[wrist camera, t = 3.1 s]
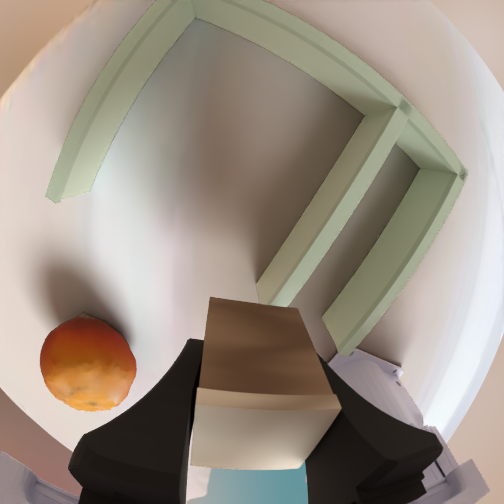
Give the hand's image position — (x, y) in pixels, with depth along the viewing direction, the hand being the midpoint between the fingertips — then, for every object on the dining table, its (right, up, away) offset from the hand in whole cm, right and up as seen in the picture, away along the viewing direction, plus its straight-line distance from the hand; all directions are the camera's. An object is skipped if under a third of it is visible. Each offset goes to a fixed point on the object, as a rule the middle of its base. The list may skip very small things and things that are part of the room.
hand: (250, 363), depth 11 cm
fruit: (-13, -3, +9) cm, 16 cm away
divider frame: (+1, +10, +5) cm, 11 cm away
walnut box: (0, +1, +2) cm, 2 cm away
